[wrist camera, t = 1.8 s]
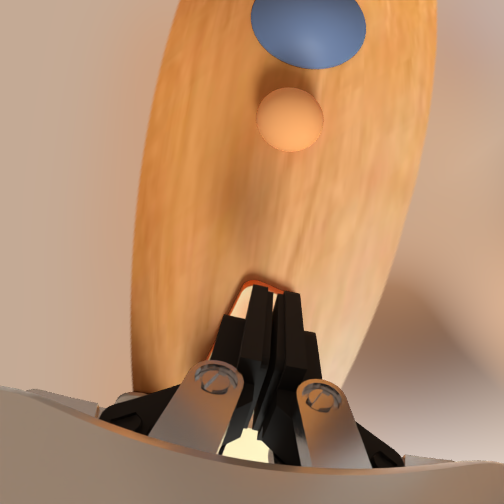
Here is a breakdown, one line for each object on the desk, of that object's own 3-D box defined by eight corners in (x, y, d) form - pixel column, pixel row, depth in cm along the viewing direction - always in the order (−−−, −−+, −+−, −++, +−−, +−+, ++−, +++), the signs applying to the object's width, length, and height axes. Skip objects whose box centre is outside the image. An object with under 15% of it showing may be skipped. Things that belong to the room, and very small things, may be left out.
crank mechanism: (247, 275, 34) (219, 406, 16) (300, 298, 35) (317, 435, 17) (182, 406, 43) (147, 510, 24) (221, 421, 43) (200, 527, 25)
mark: (278, 84, 27) (279, 84, 27) (233, -5, 24) (233, -6, 24) (383, 54, 25) (384, 53, 25) (334, -31, 22) (335, -32, 21)
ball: (271, 160, 30) (271, 163, 24) (248, 106, 28) (242, 96, 23) (327, 139, 29) (339, 138, 23) (304, 85, 27) (311, 71, 21)
